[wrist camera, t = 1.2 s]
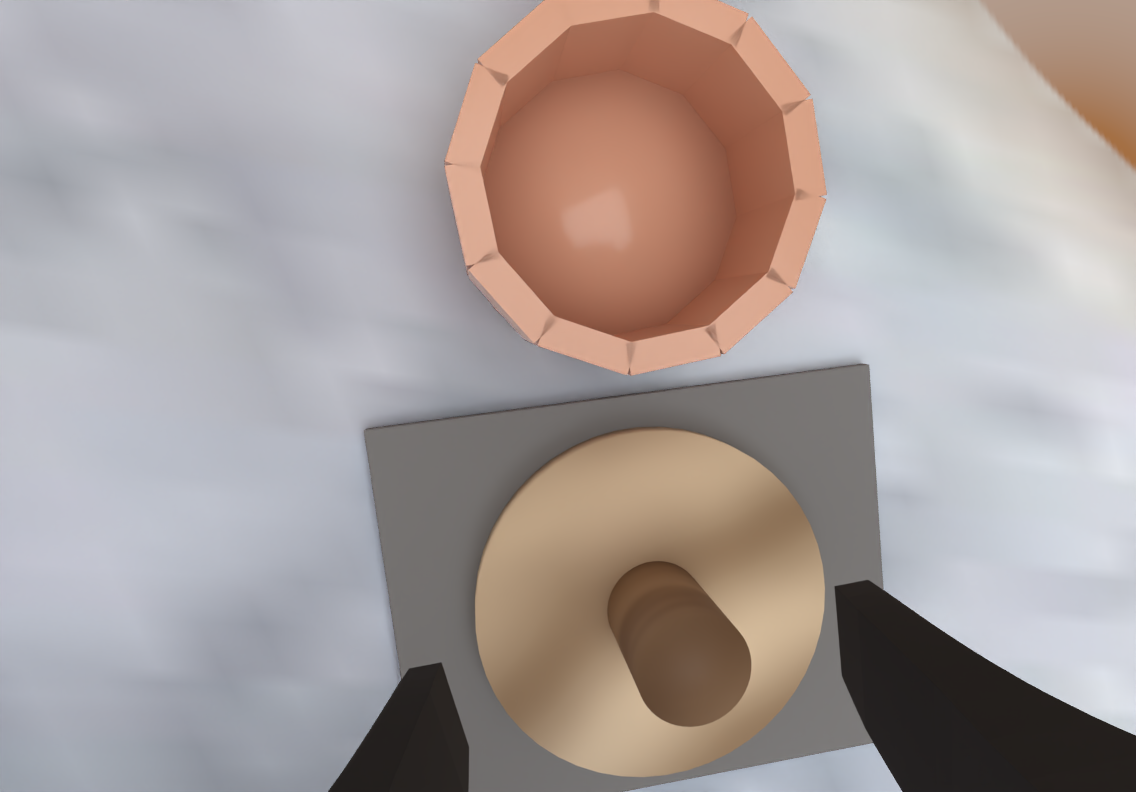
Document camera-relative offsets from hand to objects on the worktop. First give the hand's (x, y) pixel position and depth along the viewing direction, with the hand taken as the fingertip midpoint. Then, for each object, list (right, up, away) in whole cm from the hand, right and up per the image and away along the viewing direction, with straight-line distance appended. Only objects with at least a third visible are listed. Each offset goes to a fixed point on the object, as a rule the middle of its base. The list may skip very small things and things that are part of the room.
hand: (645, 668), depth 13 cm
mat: (+1, -1, +11) cm, 11 cm away
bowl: (0, +11, +9) cm, 14 cm away
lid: (+1, -2, +10) cm, 10 cm away
